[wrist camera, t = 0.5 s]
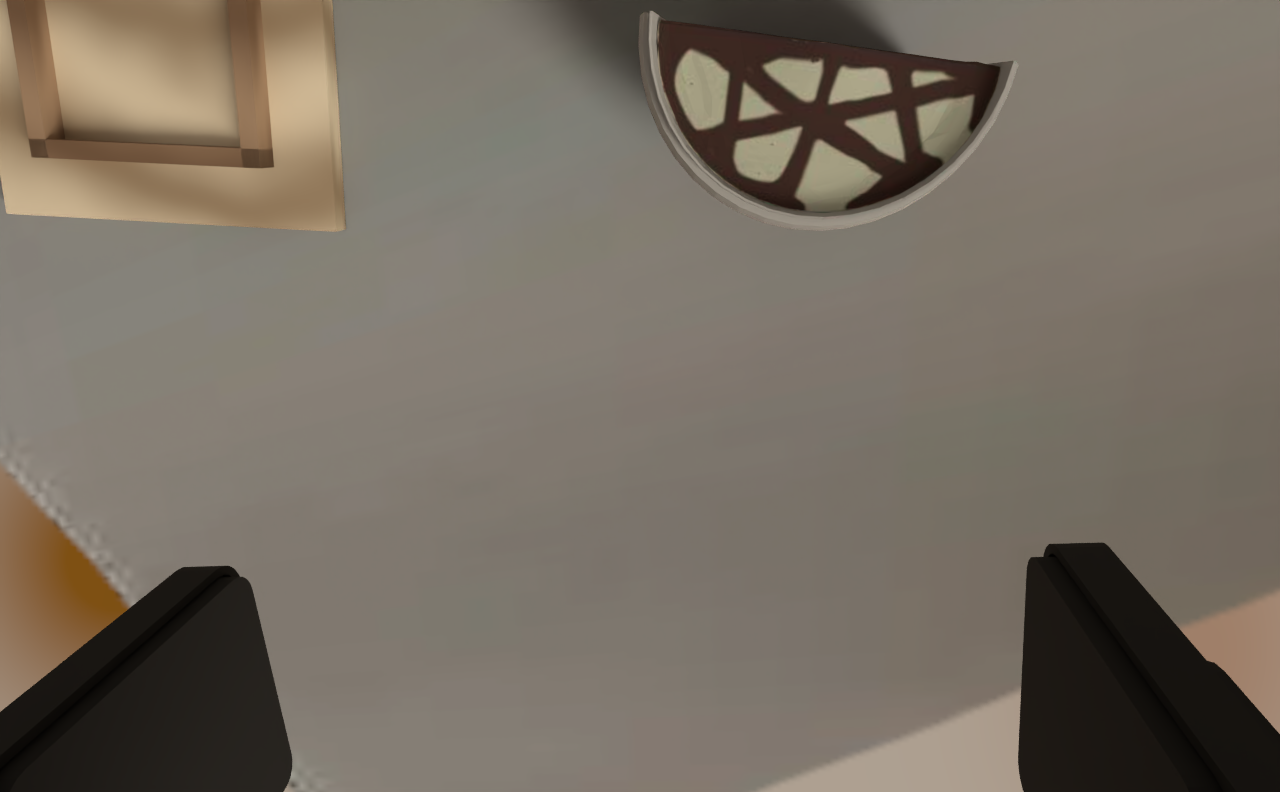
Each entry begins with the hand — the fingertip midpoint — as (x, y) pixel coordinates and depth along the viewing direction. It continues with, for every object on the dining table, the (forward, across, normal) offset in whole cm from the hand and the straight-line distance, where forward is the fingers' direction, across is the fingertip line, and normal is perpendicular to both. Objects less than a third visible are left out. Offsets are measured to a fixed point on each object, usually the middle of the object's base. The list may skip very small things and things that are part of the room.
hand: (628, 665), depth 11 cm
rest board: (+31, +23, -13) cm, 41 cm away
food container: (+31, -4, -5) cm, 31 cm away
